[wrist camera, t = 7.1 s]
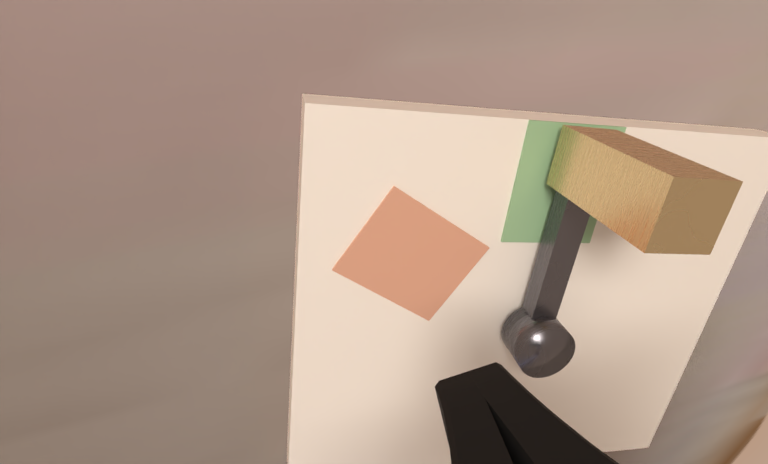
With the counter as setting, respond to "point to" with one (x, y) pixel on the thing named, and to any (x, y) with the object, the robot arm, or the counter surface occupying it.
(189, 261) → the counter surface
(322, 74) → the counter surface
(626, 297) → the board
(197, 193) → the counter surface
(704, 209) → the wooden handled crank
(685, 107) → the counter surface
